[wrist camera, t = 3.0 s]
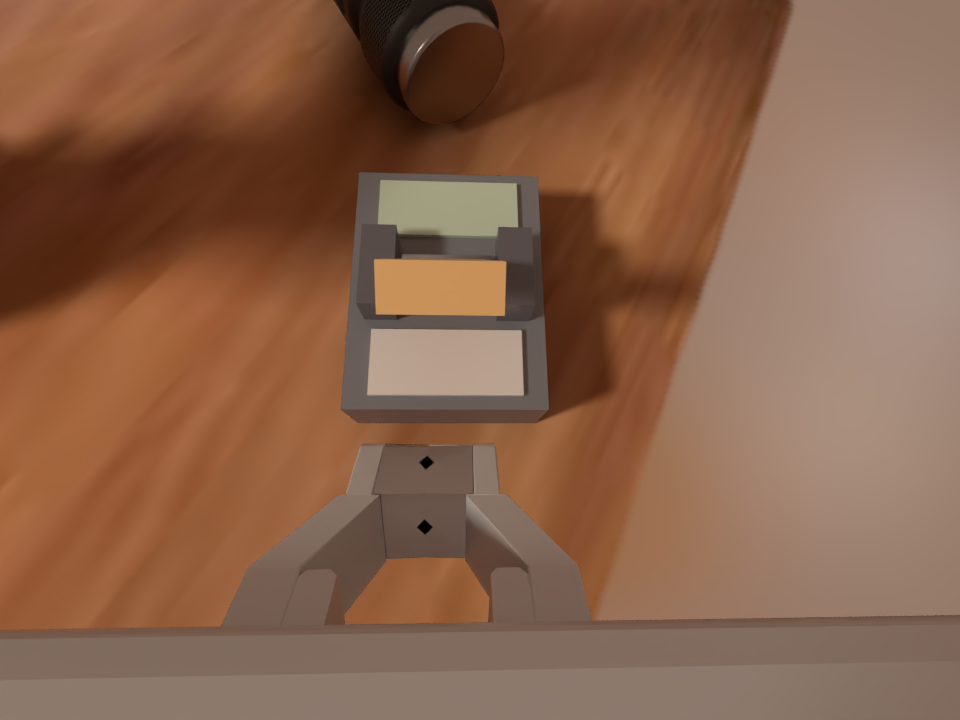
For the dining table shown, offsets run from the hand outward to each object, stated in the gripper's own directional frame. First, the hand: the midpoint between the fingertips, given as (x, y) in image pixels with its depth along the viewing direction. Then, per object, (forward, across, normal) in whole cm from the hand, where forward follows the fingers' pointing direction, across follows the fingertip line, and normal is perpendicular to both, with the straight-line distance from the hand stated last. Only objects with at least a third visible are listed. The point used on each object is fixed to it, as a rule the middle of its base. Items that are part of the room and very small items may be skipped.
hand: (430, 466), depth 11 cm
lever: (+19, 0, +2) cm, 19 cm away
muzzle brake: (+44, +7, -14) cm, 46 cm away
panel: (+23, 0, +6) cm, 24 cm away
